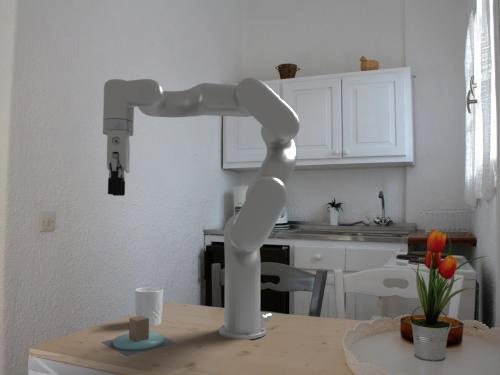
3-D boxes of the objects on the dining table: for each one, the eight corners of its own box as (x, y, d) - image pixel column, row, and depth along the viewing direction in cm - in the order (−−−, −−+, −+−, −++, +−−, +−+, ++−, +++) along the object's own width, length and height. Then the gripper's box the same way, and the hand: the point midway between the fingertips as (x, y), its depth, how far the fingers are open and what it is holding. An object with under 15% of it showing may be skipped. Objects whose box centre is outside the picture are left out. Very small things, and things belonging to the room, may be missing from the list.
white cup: (156, 329, 114) (156, 292, 114) (129, 328, 115) (129, 291, 116) (167, 321, 121) (167, 287, 122) (142, 320, 123) (142, 286, 124)
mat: (148, 333, 111) (148, 331, 111) (176, 344, 101) (176, 342, 101) (101, 344, 102) (101, 341, 102) (126, 358, 92) (126, 355, 92)
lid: (148, 331, 110) (148, 309, 110) (173, 342, 101) (173, 318, 101) (104, 342, 102) (104, 317, 102) (127, 354, 93) (128, 328, 93)
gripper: (131, 122, 100) (129, 194, 99) (135, 135, 117) (133, 196, 116) (98, 121, 99) (96, 193, 98) (107, 133, 115) (105, 195, 115)
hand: (116, 195), depth 107 cm, fingers open, 9 cm apart
